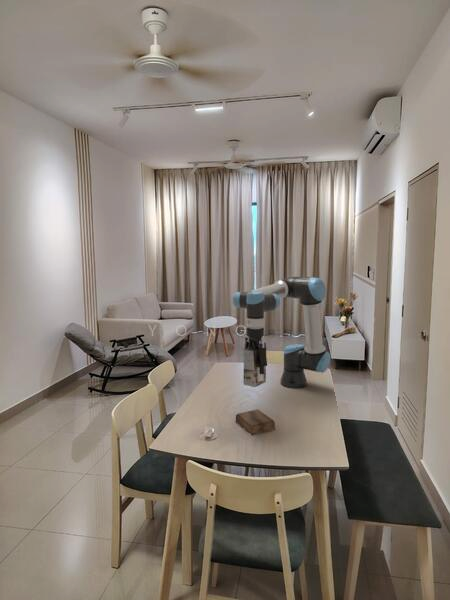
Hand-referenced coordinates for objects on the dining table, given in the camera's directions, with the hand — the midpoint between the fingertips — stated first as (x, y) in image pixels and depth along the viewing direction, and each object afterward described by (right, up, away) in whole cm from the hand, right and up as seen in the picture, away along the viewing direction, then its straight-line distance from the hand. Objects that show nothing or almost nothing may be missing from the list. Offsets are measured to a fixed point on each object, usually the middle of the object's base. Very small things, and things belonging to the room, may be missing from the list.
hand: (254, 377), depth 168 cm
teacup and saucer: (-17, -24, -6) cm, 30 cm away
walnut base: (0, -22, +3) cm, 22 cm away
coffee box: (0, -3, 0) cm, 3 cm away
